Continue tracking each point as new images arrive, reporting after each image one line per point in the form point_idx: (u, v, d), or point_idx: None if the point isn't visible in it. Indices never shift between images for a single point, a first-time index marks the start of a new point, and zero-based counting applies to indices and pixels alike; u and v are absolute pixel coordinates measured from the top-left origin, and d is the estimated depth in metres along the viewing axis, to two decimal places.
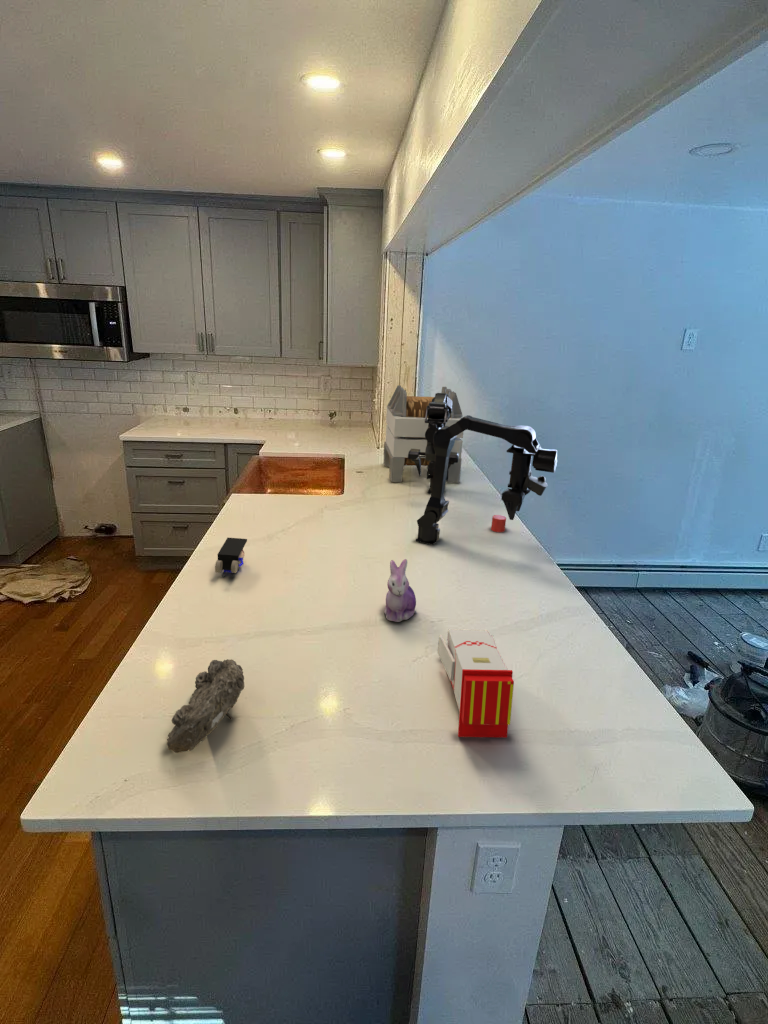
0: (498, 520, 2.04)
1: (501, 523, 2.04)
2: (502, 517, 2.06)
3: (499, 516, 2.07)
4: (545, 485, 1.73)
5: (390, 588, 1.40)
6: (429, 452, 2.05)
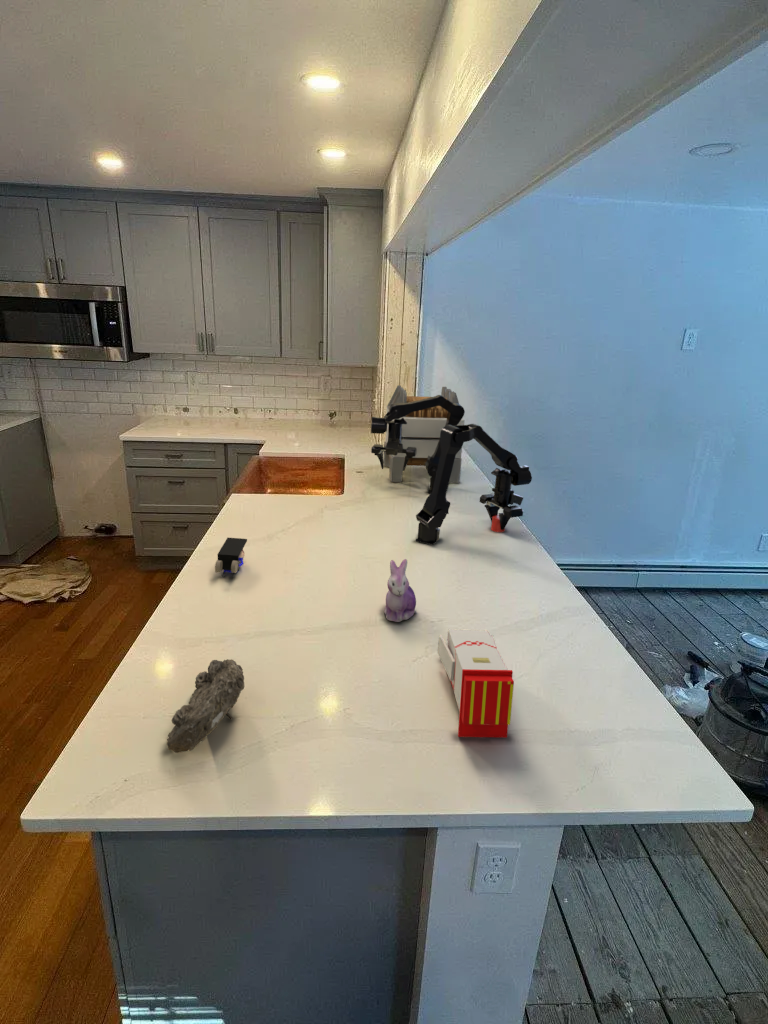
0: (498, 520, 2.04)
1: None
2: None
3: None
4: (520, 496, 2.07)
5: (390, 588, 1.40)
6: (389, 447, 2.32)
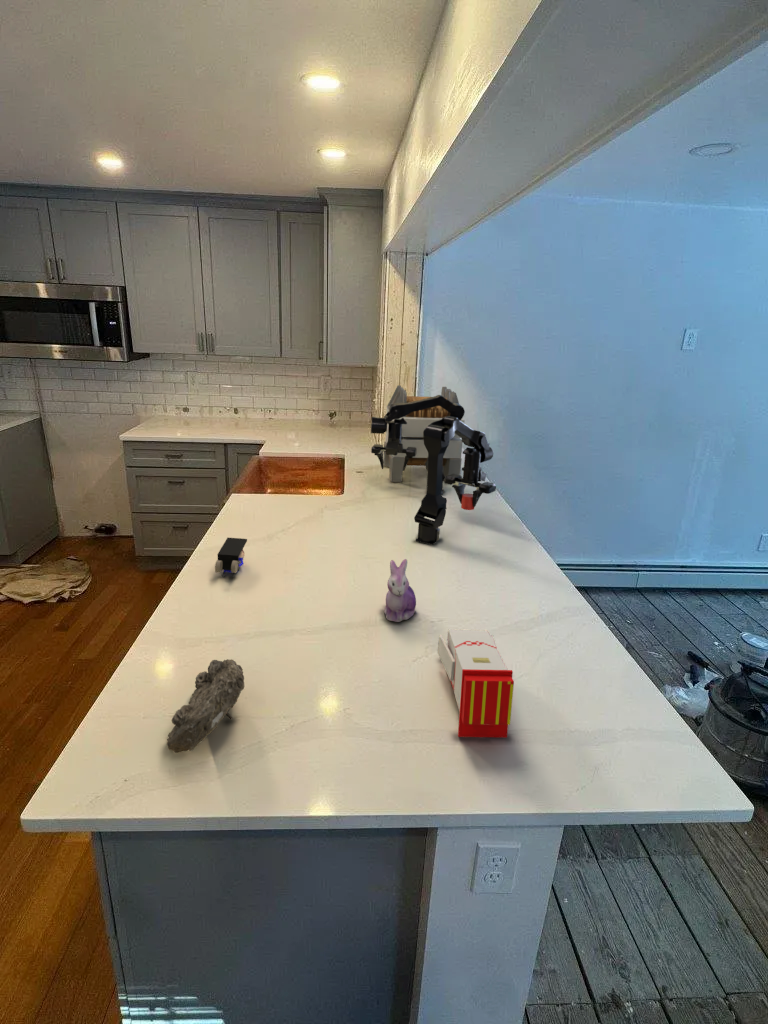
0: (470, 498, 2.08)
1: (472, 501, 2.09)
2: (471, 495, 2.11)
3: (467, 494, 2.11)
4: None
5: (390, 588, 1.40)
6: (389, 447, 2.32)
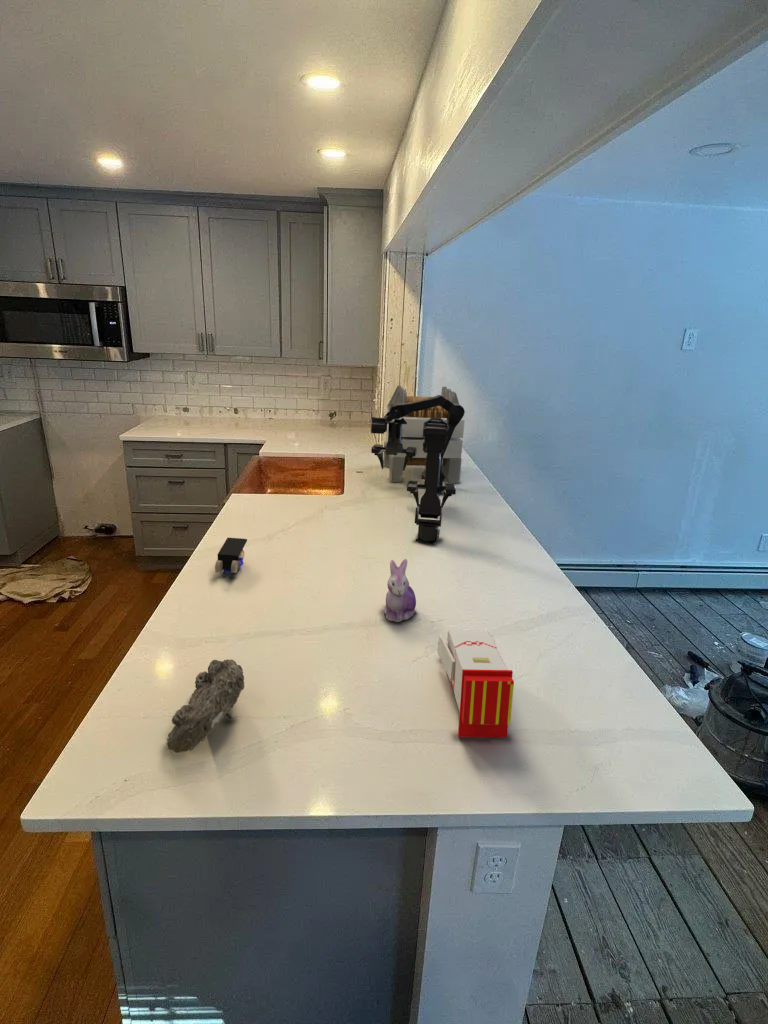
0: None
1: None
2: None
3: None
4: None
5: (390, 588, 1.40)
6: (389, 447, 2.32)
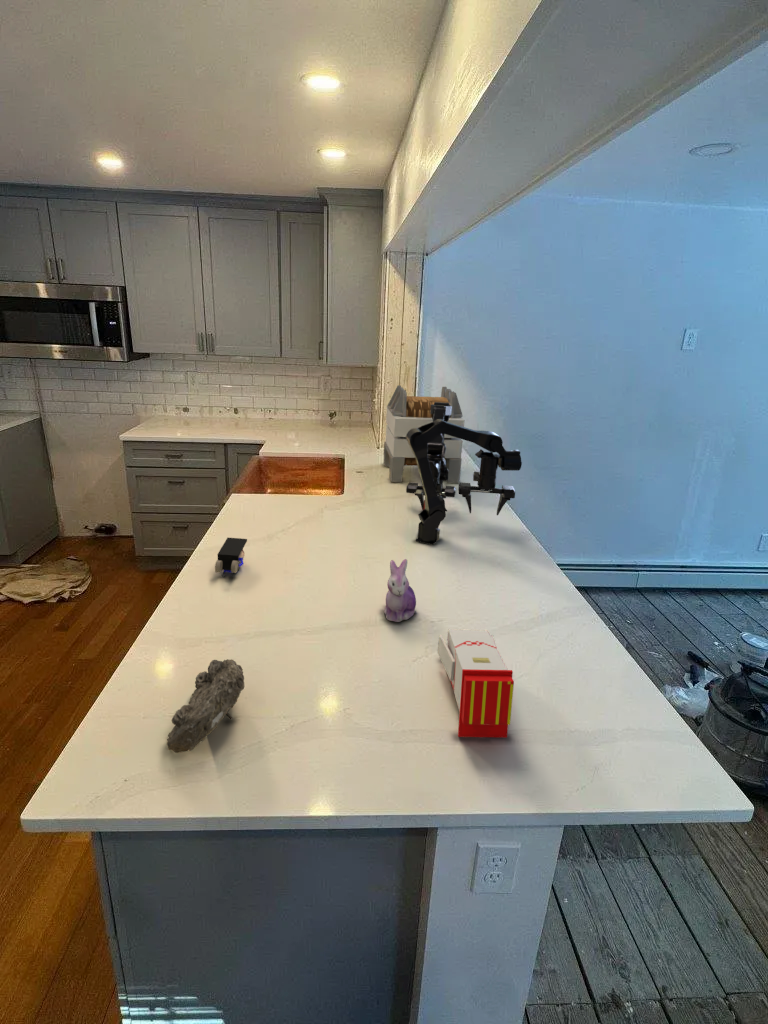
0: None
1: None
2: None
3: None
4: None
5: (390, 588, 1.40)
6: None
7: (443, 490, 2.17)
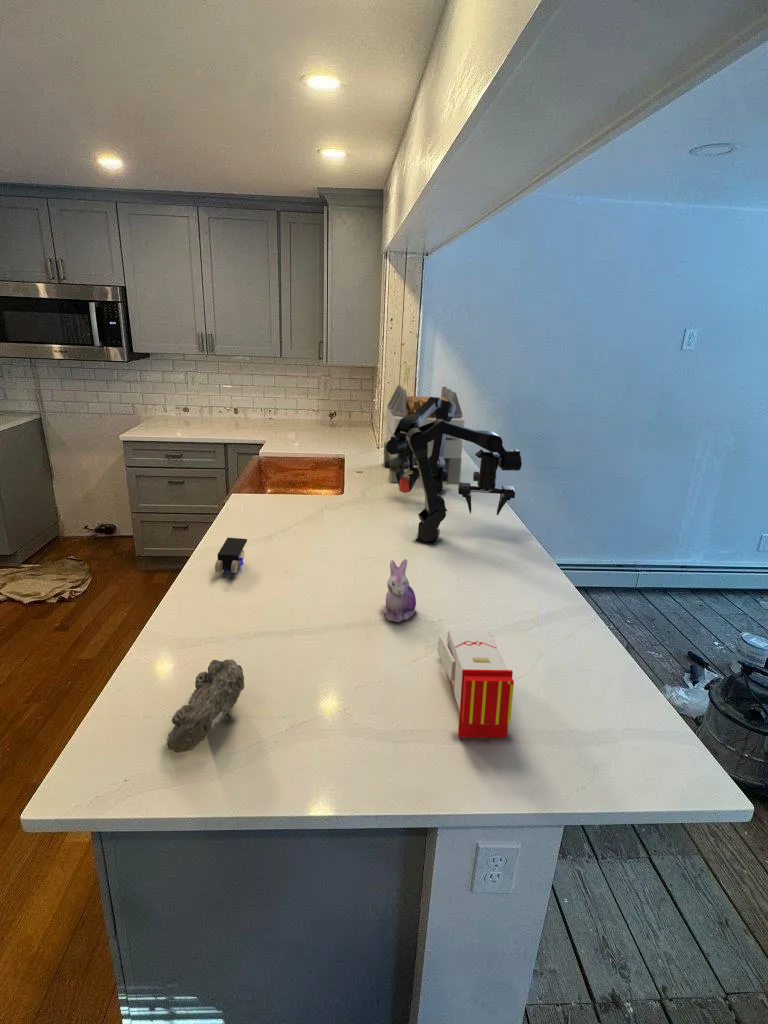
0: (407, 481, 2.25)
1: None
2: (408, 478, 2.28)
3: (404, 478, 2.28)
4: None
5: (390, 588, 1.40)
6: (392, 463, 2.20)
7: None
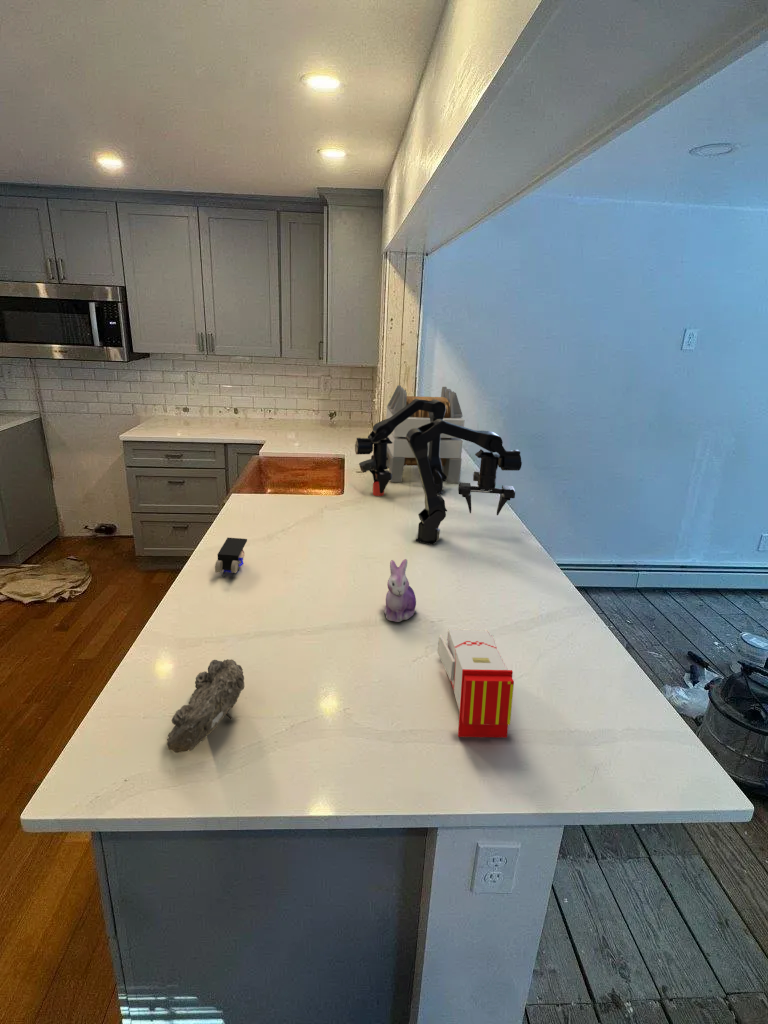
0: (376, 485, 2.37)
1: (378, 488, 2.38)
2: None
3: None
4: None
5: (390, 588, 1.40)
6: (361, 463, 2.35)
7: None
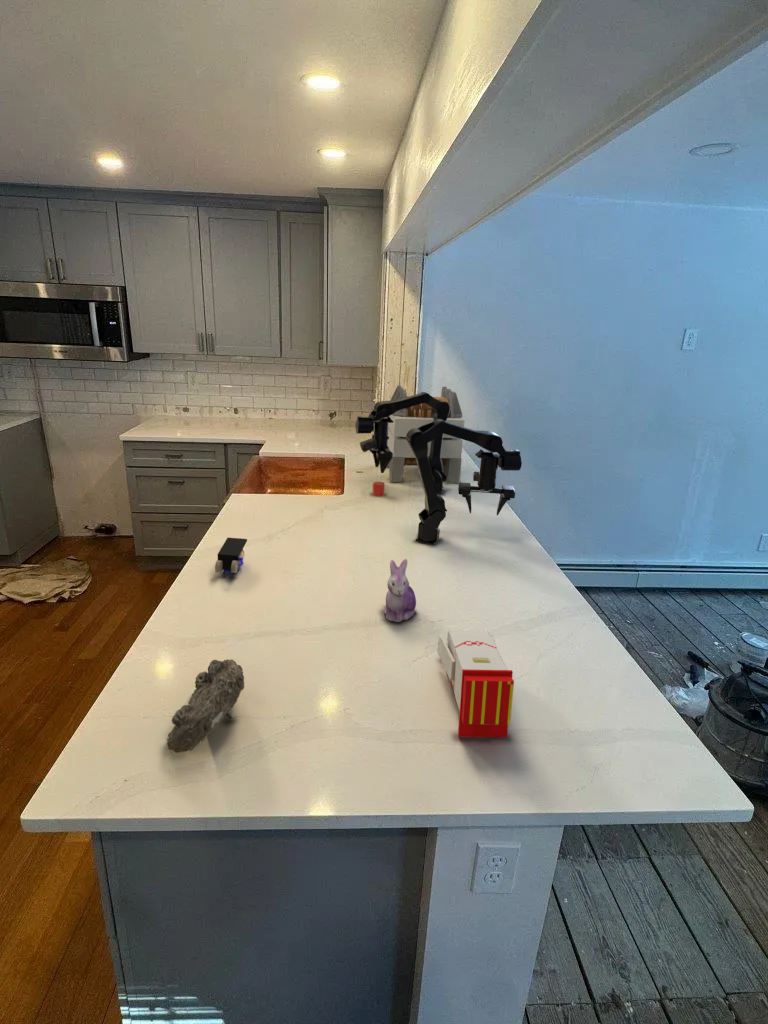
0: (376, 485, 2.37)
1: (378, 488, 2.38)
2: (381, 483, 2.39)
3: (379, 482, 2.40)
4: None
5: (390, 588, 1.40)
6: (361, 442, 2.33)
7: None
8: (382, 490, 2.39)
